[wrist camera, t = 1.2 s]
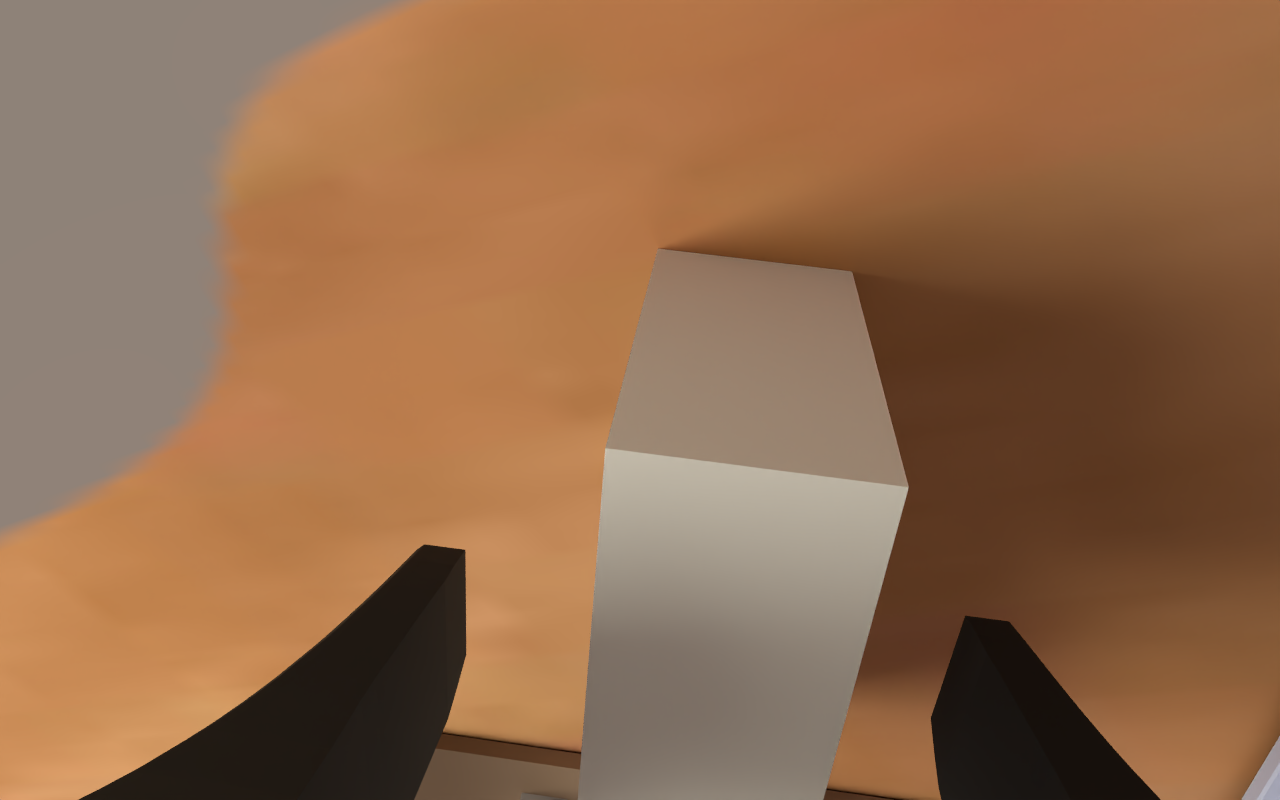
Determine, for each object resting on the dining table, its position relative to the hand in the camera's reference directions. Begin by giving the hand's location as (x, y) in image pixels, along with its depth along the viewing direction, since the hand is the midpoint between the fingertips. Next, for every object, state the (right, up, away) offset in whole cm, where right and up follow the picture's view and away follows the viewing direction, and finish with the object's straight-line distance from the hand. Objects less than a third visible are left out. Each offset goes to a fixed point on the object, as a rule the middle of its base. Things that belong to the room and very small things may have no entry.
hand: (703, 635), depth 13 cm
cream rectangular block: (0, +2, +3) cm, 4 cm away
